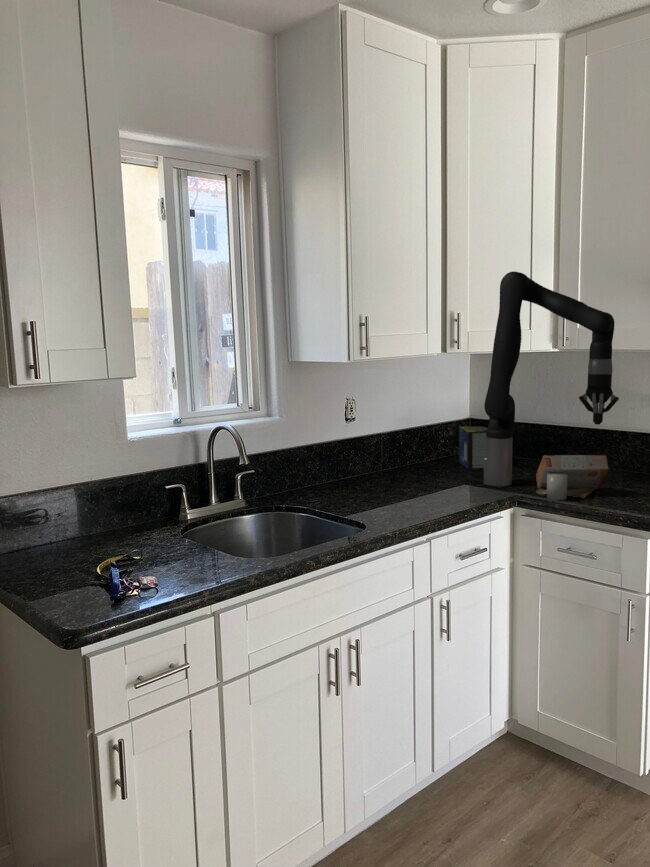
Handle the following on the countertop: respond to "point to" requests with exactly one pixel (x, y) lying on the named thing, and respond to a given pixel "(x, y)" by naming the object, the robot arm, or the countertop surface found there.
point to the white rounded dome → (557, 486)
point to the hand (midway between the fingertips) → (597, 424)
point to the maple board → (571, 491)
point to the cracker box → (574, 469)
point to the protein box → (472, 446)
